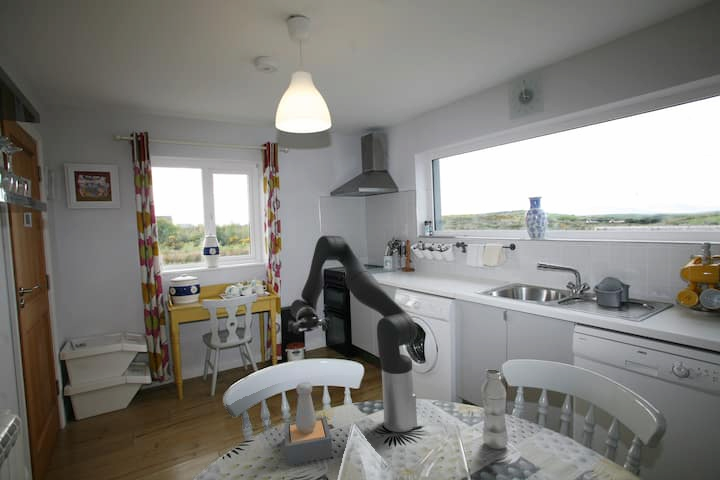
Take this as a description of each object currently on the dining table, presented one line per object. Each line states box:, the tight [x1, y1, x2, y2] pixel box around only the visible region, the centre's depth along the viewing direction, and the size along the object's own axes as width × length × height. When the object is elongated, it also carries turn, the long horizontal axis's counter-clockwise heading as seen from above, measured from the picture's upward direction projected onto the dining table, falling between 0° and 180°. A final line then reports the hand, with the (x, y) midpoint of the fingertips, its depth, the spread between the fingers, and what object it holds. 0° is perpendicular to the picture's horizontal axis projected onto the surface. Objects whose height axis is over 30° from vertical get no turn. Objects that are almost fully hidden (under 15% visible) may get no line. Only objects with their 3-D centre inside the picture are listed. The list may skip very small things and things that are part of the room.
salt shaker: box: [294, 381, 317, 434], centre depth 102 cm, size 6×6×13 cm
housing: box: [283, 416, 333, 466], centre depth 102 cm, size 12×12×5 cm
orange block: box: [290, 420, 325, 443], centre depth 102 cm, size 9×9×4 cm
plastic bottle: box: [480, 368, 509, 450], centre depth 99 cm, size 6×7×20 cm
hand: (311, 329), depth 120 cm, fingers open, 8 cm apart
